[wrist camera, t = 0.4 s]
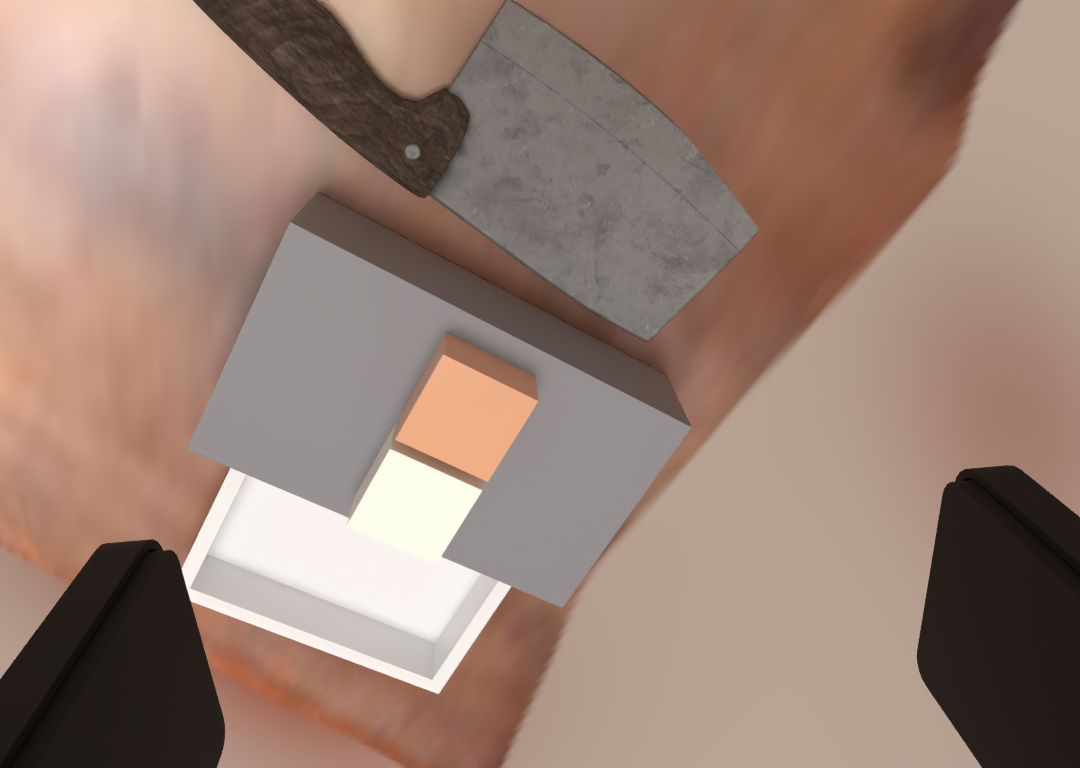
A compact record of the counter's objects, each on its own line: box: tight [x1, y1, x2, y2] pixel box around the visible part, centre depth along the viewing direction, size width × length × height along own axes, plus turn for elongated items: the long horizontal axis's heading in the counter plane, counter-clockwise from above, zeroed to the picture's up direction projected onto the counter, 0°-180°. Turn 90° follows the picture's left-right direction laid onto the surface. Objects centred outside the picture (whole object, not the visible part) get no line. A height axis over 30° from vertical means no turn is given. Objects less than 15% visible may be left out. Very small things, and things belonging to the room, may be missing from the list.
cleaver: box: [193, 0, 759, 342], centre depth 37 cm, size 29×10×2 cm, turn 54°
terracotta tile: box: [395, 333, 538, 482], centre depth 36 cm, size 4×4×2 cm
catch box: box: [182, 468, 511, 694], centre depth 45 cm, size 10×16×4 cm, turn 60°
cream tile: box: [347, 422, 483, 564], centre depth 37 cm, size 4×4×2 cm
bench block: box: [187, 192, 691, 608], centre depth 40 cm, size 12×20×6 cm, turn 60°
